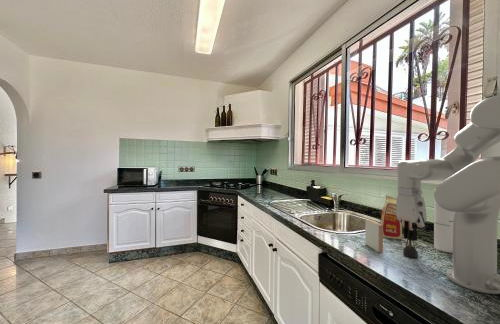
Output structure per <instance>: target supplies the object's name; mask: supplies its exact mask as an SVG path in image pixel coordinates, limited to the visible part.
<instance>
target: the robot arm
mask: <svg viewBox="0 0 500 324" xmlns="http://www.w3.org/2000/svg"><path fill="white" fill-rule="evenodd" d="M469 118H470V119H469V120H470V122H469V123H468V124H467V125H466V126H464V127H463V128H462V129H460V130H459V131H458V132H456V133H455V134H454V136H453V139H454V143H455V144H456V146H455V148H454V149H452V150H451V151H449V152H448V153H447V154H446V155H444V156H442V157H441V158H438V159H437V158H436V159H418V160H400V161H398V162H397V167H396V168H397V196H396V198H397V202H396V215H397V219H398V220H399V221H400V222H401V223H402V231H403V238H404V239H406V240H407V237H408V241H409V240H410V241H412V242H413V240H414V241H418V231H419V228H425V226H426V225H425V223H427V219H428V217H427V216H428V215H427V207H426V203H425V198H424V196H422V194H423V190H422V181H426V182H427V181H441V182H440V183H439V184H438V185H437V186H436V188H434V189H435V192H434V191H433V192H434V193H433V198H435V201H436V203H437V204H438V205H439V206H440V207H441V208H443V209H445V210H447V211H451V212H455V214H454V218H453V253H452V268H448V269H447V270H446V271H445V275H446V277H447V278H448V279H449V280H450V281H451V282H452V283H454V284H457V285H458V286H461V287H463V288H466V289H469V290H471V291H475V292H479V293H485V294H490V295H491V294H492V295H500V274H499V273H498V223H499V214H500V155H499V156H487V157H484V158H483V157H482V158H481V159H478V158H479V157H480V156H481V154H482V153H484V152H485V151H487V150H489V149H491V148H492V147H493V146H495V145H497V144H499V143H500V94H499V95H493V96H490V97H487V98H485V99H483V100H480V101H479V102H478V103H476V104H475V105H474V106H473V108H472V109H471V110H470V114H469ZM408 222H409V229H410V230H408Z"/></svg>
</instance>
